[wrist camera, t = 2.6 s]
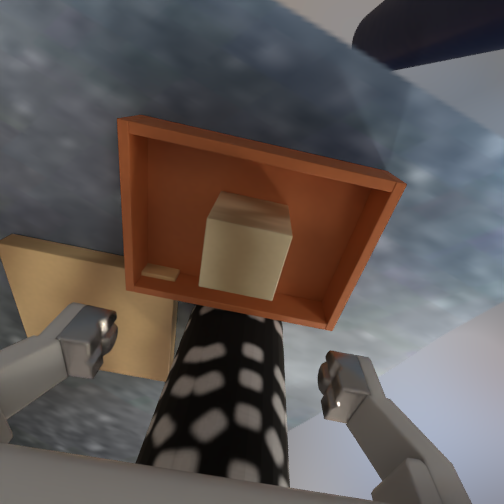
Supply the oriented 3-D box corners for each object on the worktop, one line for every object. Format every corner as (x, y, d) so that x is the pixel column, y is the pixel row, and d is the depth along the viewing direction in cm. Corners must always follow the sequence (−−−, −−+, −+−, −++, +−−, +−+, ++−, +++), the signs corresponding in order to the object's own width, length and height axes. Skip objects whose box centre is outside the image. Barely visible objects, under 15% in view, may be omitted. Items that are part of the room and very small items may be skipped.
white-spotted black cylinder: (177, 337, 25) (-30, 864, 8) (211, 275, 21) (-50, 1049, 4) (255, 368, 27) (224, 865, 9) (300, 315, 23) (390, 1000, 6)
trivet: (181, 267, 21) (175, 278, 20) (172, 369, 28) (168, 382, 26) (12, 233, 20) (-6, 242, 19) (45, 345, 27) (33, 358, 26)
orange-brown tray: (387, 170, 16) (407, 184, 14) (325, 305, 22) (332, 331, 20) (140, 114, 16) (116, 118, 13) (141, 268, 21) (125, 290, 19)
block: (288, 204, 18) (293, 236, 14) (272, 261, 20) (272, 301, 16) (221, 190, 17) (206, 217, 13) (212, 248, 20) (198, 286, 16)
